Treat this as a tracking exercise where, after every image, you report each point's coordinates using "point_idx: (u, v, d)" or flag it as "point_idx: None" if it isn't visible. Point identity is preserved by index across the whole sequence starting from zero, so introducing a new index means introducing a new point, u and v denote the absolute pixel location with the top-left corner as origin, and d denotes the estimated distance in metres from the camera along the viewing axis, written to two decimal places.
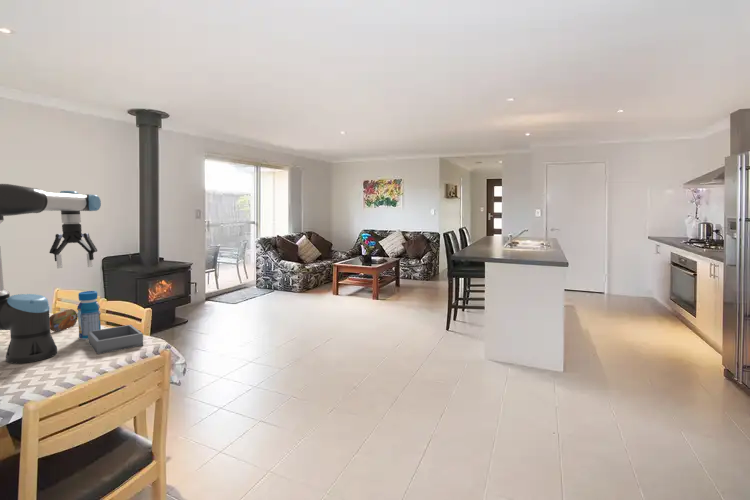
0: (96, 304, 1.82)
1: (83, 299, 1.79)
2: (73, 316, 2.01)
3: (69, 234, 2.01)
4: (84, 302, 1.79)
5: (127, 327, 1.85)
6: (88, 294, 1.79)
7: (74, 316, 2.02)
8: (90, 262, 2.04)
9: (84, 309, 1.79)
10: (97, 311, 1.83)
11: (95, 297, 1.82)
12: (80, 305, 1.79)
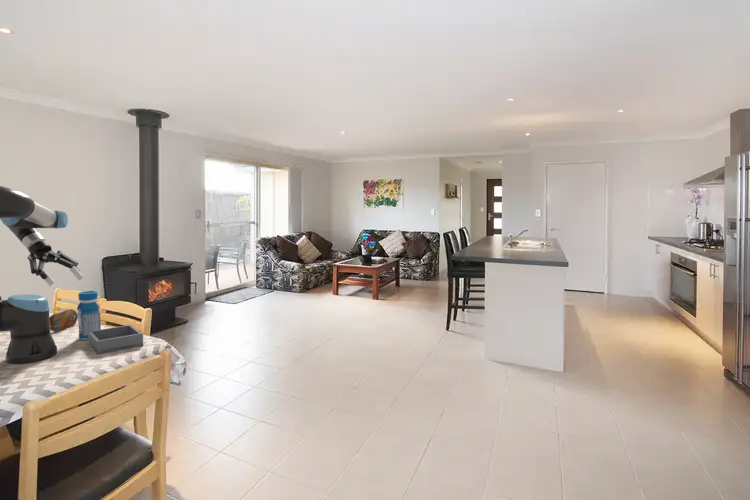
0: (96, 304, 1.82)
1: (83, 299, 1.79)
2: (73, 316, 2.01)
3: (44, 252, 1.84)
4: (84, 302, 1.79)
5: (127, 327, 1.85)
6: (88, 294, 1.79)
7: (74, 316, 2.02)
8: None
9: (84, 309, 1.79)
10: (97, 311, 1.83)
11: (95, 297, 1.82)
12: (80, 305, 1.79)
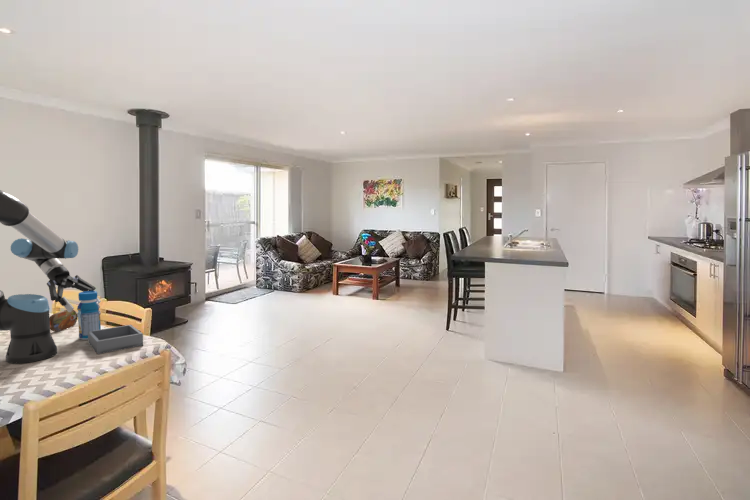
0: (96, 304, 1.82)
1: (83, 299, 1.79)
2: (73, 316, 2.01)
3: (62, 278, 1.85)
4: (84, 303, 1.79)
5: (127, 327, 1.85)
6: (88, 294, 1.79)
7: (74, 316, 2.02)
8: None
9: (84, 309, 1.79)
10: (97, 311, 1.83)
11: (95, 297, 1.82)
12: (80, 305, 1.79)
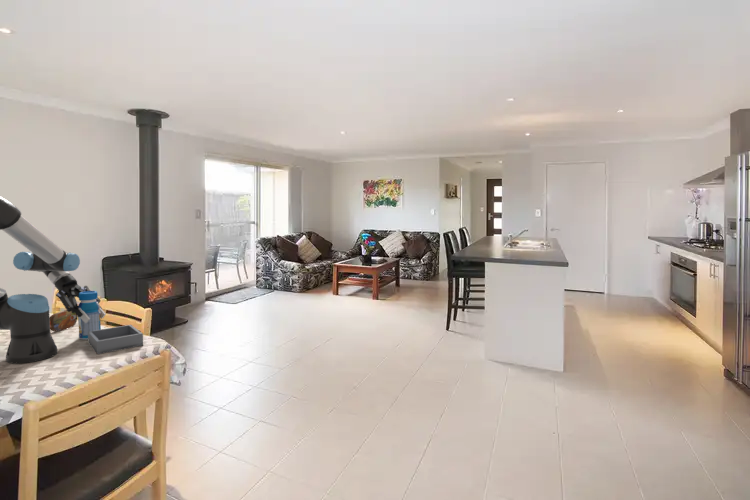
0: (96, 304, 1.82)
1: (83, 299, 1.79)
2: (73, 316, 2.01)
3: (68, 286, 1.83)
4: (85, 302, 1.80)
5: (127, 327, 1.85)
6: (88, 294, 1.80)
7: (74, 316, 2.02)
8: None
9: (84, 309, 1.79)
10: (97, 311, 1.83)
11: (95, 297, 1.82)
12: (80, 305, 1.79)
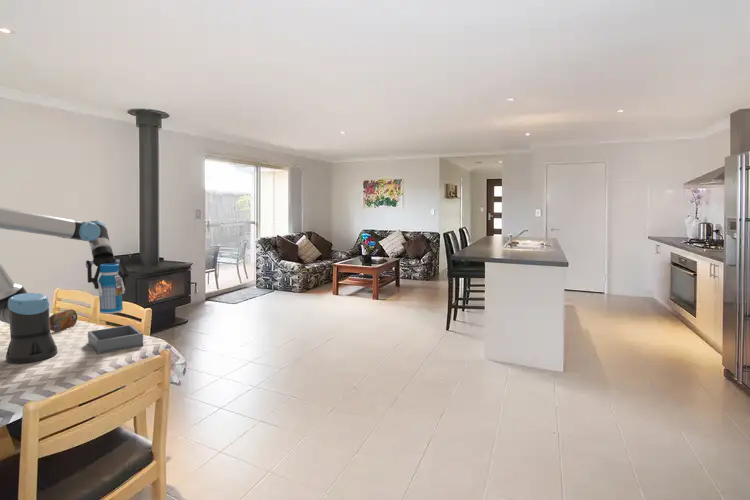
0: (113, 278, 1.73)
1: (101, 271, 1.72)
2: (73, 316, 2.01)
3: (101, 257, 1.80)
4: (102, 275, 1.73)
5: (127, 327, 1.85)
6: (105, 266, 1.72)
7: (74, 316, 2.02)
8: None
9: (100, 281, 1.72)
10: (114, 285, 1.73)
11: (113, 270, 1.73)
12: (100, 277, 1.73)
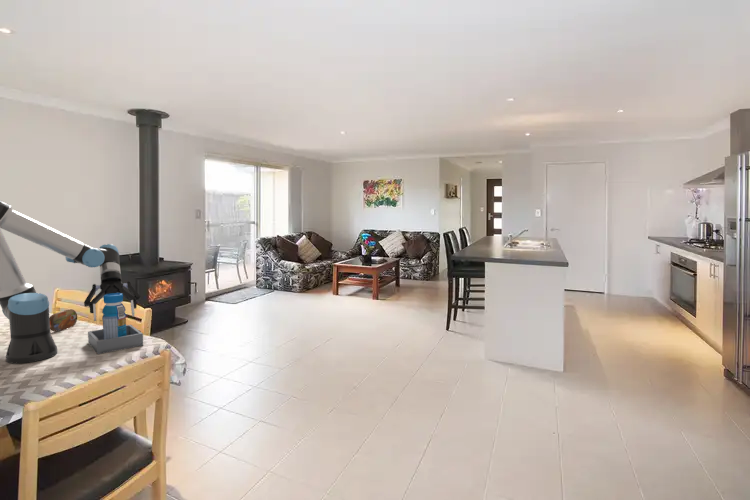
0: (115, 308, 1.71)
1: (104, 301, 1.71)
2: (73, 316, 2.01)
3: (109, 283, 1.79)
4: (106, 305, 1.71)
5: (127, 327, 1.85)
6: (107, 297, 1.70)
7: (74, 316, 2.02)
8: (133, 310, 1.77)
9: (103, 311, 1.70)
10: (116, 316, 1.71)
11: (115, 301, 1.71)
12: None
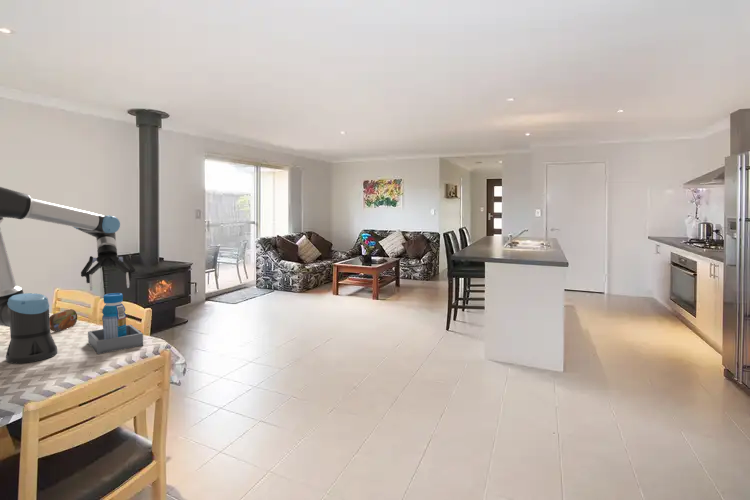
0: (115, 308, 1.71)
1: (104, 301, 1.71)
2: (73, 316, 2.01)
3: (106, 256, 1.89)
4: (105, 305, 1.71)
5: (127, 327, 1.85)
6: (107, 297, 1.70)
7: (74, 316, 2.02)
8: (128, 282, 1.87)
9: (103, 311, 1.70)
10: (116, 316, 1.71)
11: (115, 301, 1.71)
12: None
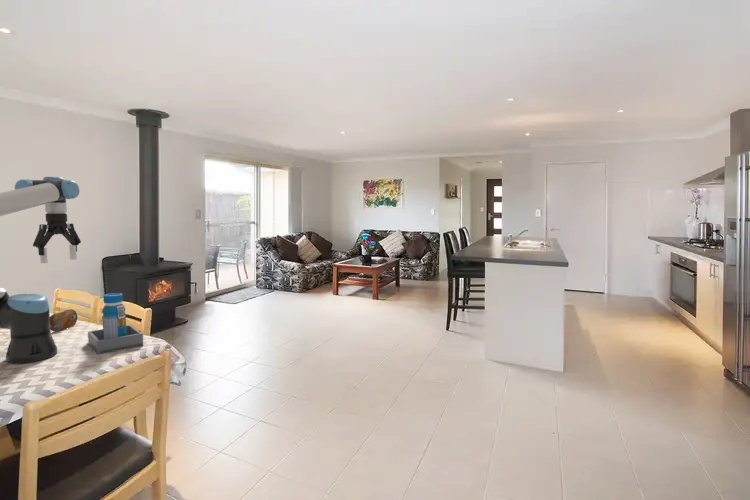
0: (115, 308, 1.71)
1: (104, 301, 1.71)
2: (73, 316, 2.01)
3: (57, 224, 1.83)
4: (105, 305, 1.71)
5: (127, 327, 1.85)
6: (107, 297, 1.70)
7: (74, 316, 2.02)
8: None
9: (103, 311, 1.70)
10: (116, 316, 1.71)
11: (115, 301, 1.71)
12: None
